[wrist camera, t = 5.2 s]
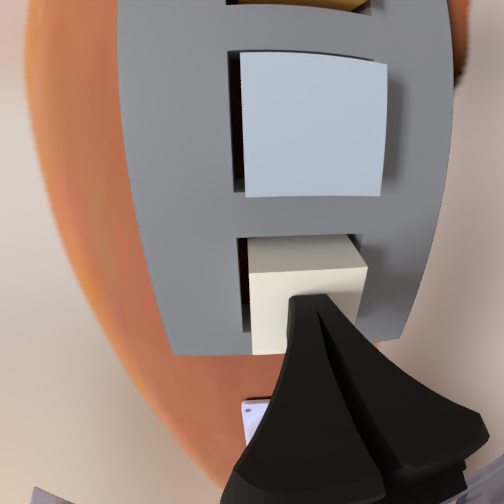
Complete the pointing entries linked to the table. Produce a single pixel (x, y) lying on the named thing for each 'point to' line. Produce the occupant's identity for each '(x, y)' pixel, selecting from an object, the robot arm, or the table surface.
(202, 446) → the table surface
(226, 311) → the button board
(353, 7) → the orange button
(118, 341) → the table surface
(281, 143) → the slate-blue button
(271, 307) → the cream button
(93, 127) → the table surface
